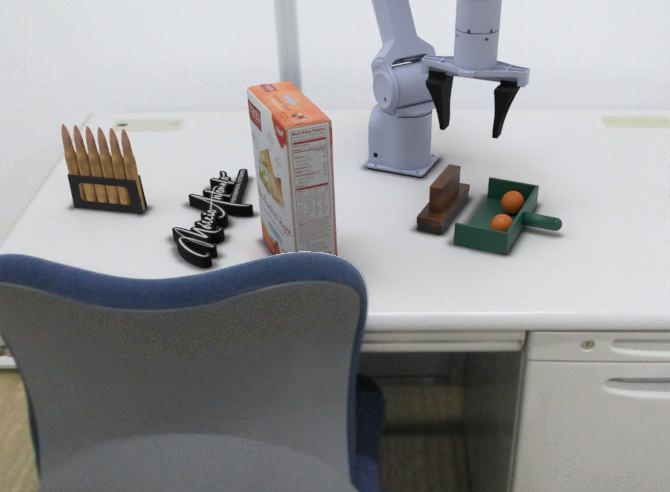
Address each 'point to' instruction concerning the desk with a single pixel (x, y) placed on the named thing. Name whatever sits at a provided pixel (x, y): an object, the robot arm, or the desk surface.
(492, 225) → the small orange ball
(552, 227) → the dustpan
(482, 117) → the desk surface
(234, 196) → the nameplate
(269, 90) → the cracker box
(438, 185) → the brush
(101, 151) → the ammunition clip
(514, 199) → the orange ball
